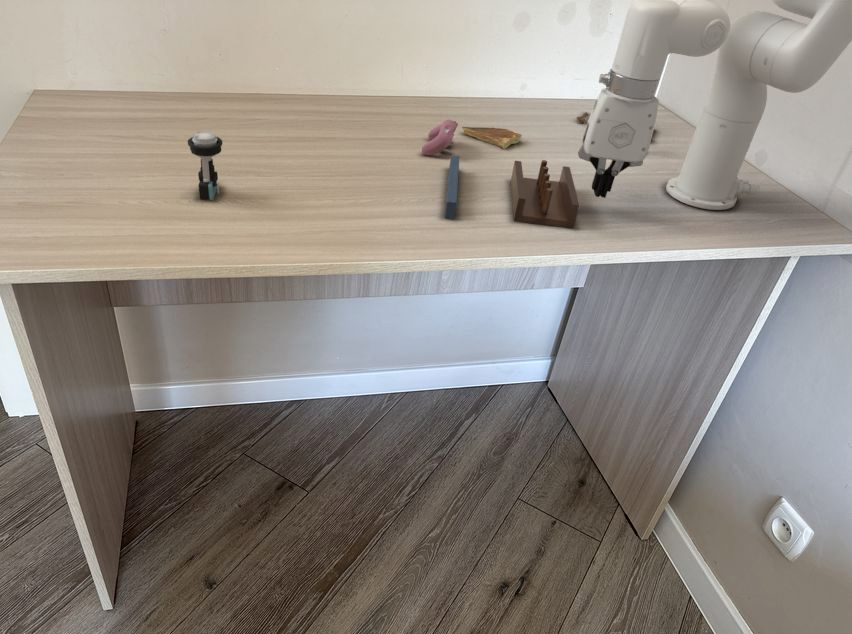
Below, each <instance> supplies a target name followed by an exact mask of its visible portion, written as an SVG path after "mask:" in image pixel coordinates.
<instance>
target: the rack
mask: <svg viewBox="0 0 852 634" xmlns="http://www.w3.org/2000/svg"><path fill="white" fill-rule="evenodd" d="M513 162H514V163H513V167H512V173H511V176H510V191H511V204H512V214H513V221H514V222H519V223H527V224H537V225H543V226H552V227H560V228H570V229H574V227H575V223H576V219H577V216H578V212H579V209H580V206H581V205H580V201H579V198H578V195H577V194H578V193H577V190H576V185H575V182H574V179H573V174H572V172H571V167H570V166H562V169H561V173H560V176H559V181H557V180H550V177H551V174H549V173H548V172H549V167H548V166H547V165H548V161H547V160H546V159H542V160H541V162H540V165H539V166H540V167H539V171H538V176H537V178H531V177H525V176H524V173H523V164H522V163H523V162H522V161H521V160H514V161H513Z"/></svg>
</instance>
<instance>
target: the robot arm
mask: <svg viewBox="0 0 852 634" xmlns="http://www.w3.org/2000/svg"><path fill="white" fill-rule="evenodd" d="M772 3H774V5H775V6H777V7H778V8H780V9H781V10H783V11H786V12H788V13H791V14H794V15H798V16H800V17H804V18H807V19H810V21H809V23H808V24H806V23H803V22H800V21H798V20H797V21H796V20H793V19H792V18H788V17H786V16H781V15H778V14H775V13H771V12H767V11H759V10H758V11H757V10H756V11H749V12H746V13H742V14H741V15H739V16H737V17H735V18H734V19H733V20H732V21H731V20H730V16H729V14H728V12H727V11H726V10H725V9H724V8H723V7H722V6H720V5H718V4H716V3H714V2H712V1H708V0H632V1H631V3H630V4H629V6H628V10H627V12H626V16H625V19H624V23H623V27H622V30H621V33H620V37H619V40H618V43H617V44H618V45H617V48H616V51H615V52H616V53H615V55H614V59H613V63H612V66H611V68H610V69H609V71H608V72H607V73H605V74H604V73H601V74H600V75H599V78H598V83H599V84H603V85H604V86H605V87H604V88H602V89H601V90H600V92H599V94H598V96H597V98H596V100H595V102H594V104H593V107H592V110H591V112H590V114H591V115H590V114H589V118H588V121H587V124H586V126H585V129H584V133H583V135H582V136H583V137H582V140H581V141H582V143H581V146H580V148H579V150H578V151H577V155H578V158H579V159H581V160H583V161H585V162H589V163H590V164H591V165H592V166H593V168H594V169H595V172H594V177H593V179H592V183H591V190H592V191H593V193H594V196H595V197H596V198H600V197H601V198H603V199H606V197H607V194H608V193H610V192H611V191H612V188H613V185H614V180H615V177H618V175H619V174H620V173H621V172H623V171H624V170H626V169H628V168H632V167H633V168H635V167H641V166H642V165H643V164H644V160H645V159H646V158H647V155H648V153H649V149H650V146H651V142H652V141H651V139H652V138H653V135H654V134H653V130H655V126H656V122H657V117H658V110H659V101H660V100H659V99H658V98H657V97H656V93H657V90H658V87H659V84H660V81H661V79H662V75H663V71H664V68H665V66H666V62H667V59H668V56H669V55H670V54H676V55H682V56H687V57H694V58H699V57H704V56H708V55H710V54H712V53H714V52H716V51H717V50H718V52H717V58H716V64H715V70H714V74H713V79H712V82H711V85H710V87H709V88H710V89H709V91H708V95H707V98H706V101H705V103H704V105H703V108H702V111H701V114H700V117H699V119H698V123H697V125H696V127H695V131H694V132H693V136H692V139H691V142H690V144H689V147H688V150H687V153H686V156H685V159H684V161H683V164H682V167H681V170H680V172H679V175H678V176H675V177H672V178H670V179H669V180H668V181H667V183H666V185H665V190H666V192H667V193H668V194H669V196H671V197H672V198H674V199H675V200H677V201H678V202H680V203H683V204H684V205H685V204H686V205H688V206H691V207H694V208H697V209H698V208H699V209H703V210H710V211H723V210H724V211H725V210H728V209H731V208H733V207H734V206H735V205H736V203H737V201H738V196H740V195H741V194H744V195H749V196H758V195H759V194H760V192H761V185H760V184H752V183H749V182H750V181H749V180H748V179H739V178H738V175H739V172H740V170H741V167H742V165H743V163H744V162H745V161H744V160H745V158H746V156H747V153H748V150H749V149H750V146H751V143H752V141H753V139H754V137H755V134H756V133H757V132H756V131H757V129H758V127H759V124H760V122H761V120H762V117H763V115H764V113H765V110H766V106H767V101H768V86H769V87H772V88H775V89H776V90H780V91H783V92H786V93H791V94H792V93H793V94H797V93H802V92H804V91H806V90H808V89H810V88H812V87H813V86H814V85H816V84H817V83H818V82H819V81H820V80H821V78H823V76H824V75H825V74H826V73H827V72H828V71H829V70H830V68H831V67H832V66H833V65H834V64H835V62H836V61H837V59H838V58H839V57H840V56H841V55H842V53H843V52H844V51H845V49H847V47H848V46H849V45H850V43H851V42H852V0H772ZM652 134H653V135H652ZM652 140H653V139H652ZM607 160H611V161H610V163H609V165H608V167H606V165H607Z"/></svg>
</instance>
